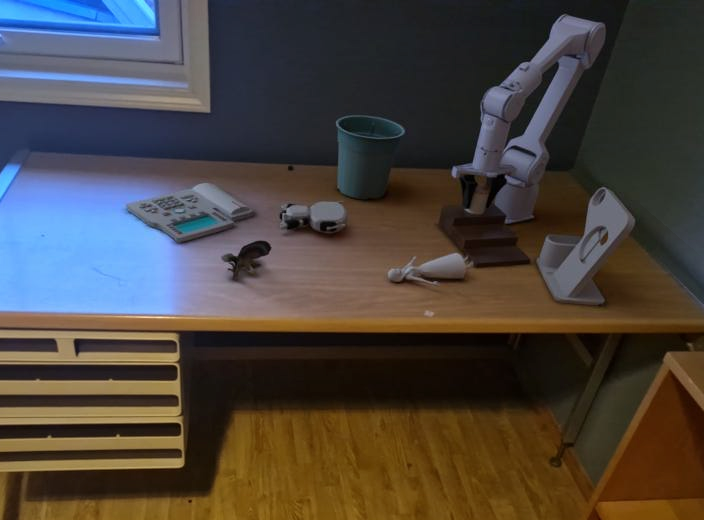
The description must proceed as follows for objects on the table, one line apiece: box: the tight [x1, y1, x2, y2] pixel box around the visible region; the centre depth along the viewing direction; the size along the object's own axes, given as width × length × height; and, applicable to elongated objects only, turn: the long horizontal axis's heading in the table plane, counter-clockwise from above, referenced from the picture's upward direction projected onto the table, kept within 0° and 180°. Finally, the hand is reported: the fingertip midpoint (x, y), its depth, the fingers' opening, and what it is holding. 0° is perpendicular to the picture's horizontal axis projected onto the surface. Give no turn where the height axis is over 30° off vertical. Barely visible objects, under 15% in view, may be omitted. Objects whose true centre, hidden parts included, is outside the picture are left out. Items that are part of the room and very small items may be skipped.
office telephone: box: [125, 182, 254, 243], centre depth 147 cm, size 23×3×20 cm
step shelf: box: [437, 202, 532, 268], centre depth 146 cm, size 20×13×5 cm, turn 15°
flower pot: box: [335, 114, 406, 200], centre depth 161 cm, size 16×16×16 cm
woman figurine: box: [387, 252, 474, 287], centre depth 133 cm, size 12×4×18 cm
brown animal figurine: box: [220, 239, 272, 281], centre depth 129 cm, size 8×7×9 cm
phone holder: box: [535, 186, 636, 306], centre depth 132 cm, size 17×10×18 cm, turn 178°
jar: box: [465, 182, 491, 214], centre depth 148 cm, size 5×5×6 cm
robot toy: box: [278, 200, 348, 235], centre depth 147 cm, size 12×4×15 cm
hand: (475, 206), depth 149 cm, fingers closed on jar, 4 cm apart
